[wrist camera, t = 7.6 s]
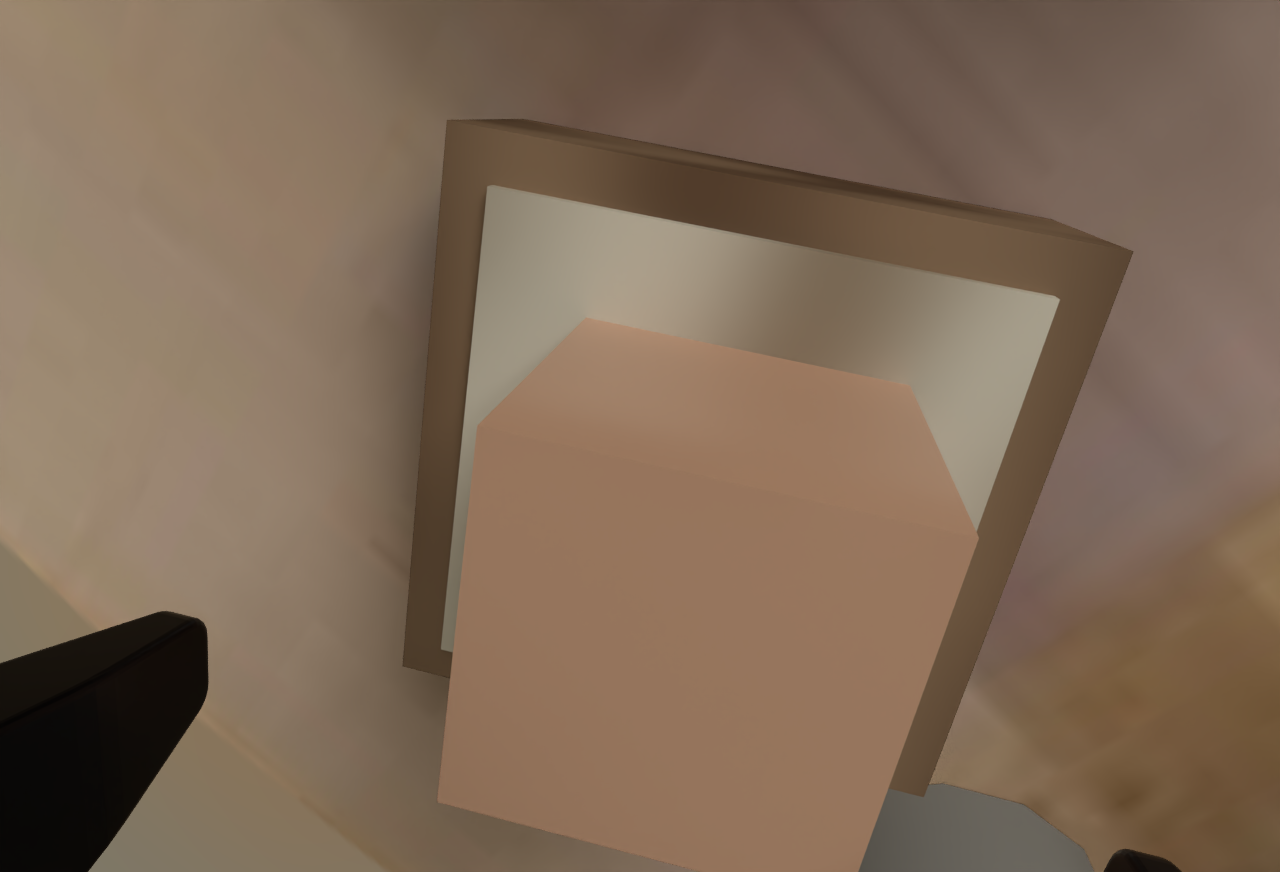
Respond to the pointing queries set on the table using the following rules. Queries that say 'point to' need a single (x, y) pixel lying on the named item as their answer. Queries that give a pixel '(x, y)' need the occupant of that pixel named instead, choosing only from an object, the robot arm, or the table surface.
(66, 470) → the table surface
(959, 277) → the pedestal
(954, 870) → the cup
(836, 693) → the cube
